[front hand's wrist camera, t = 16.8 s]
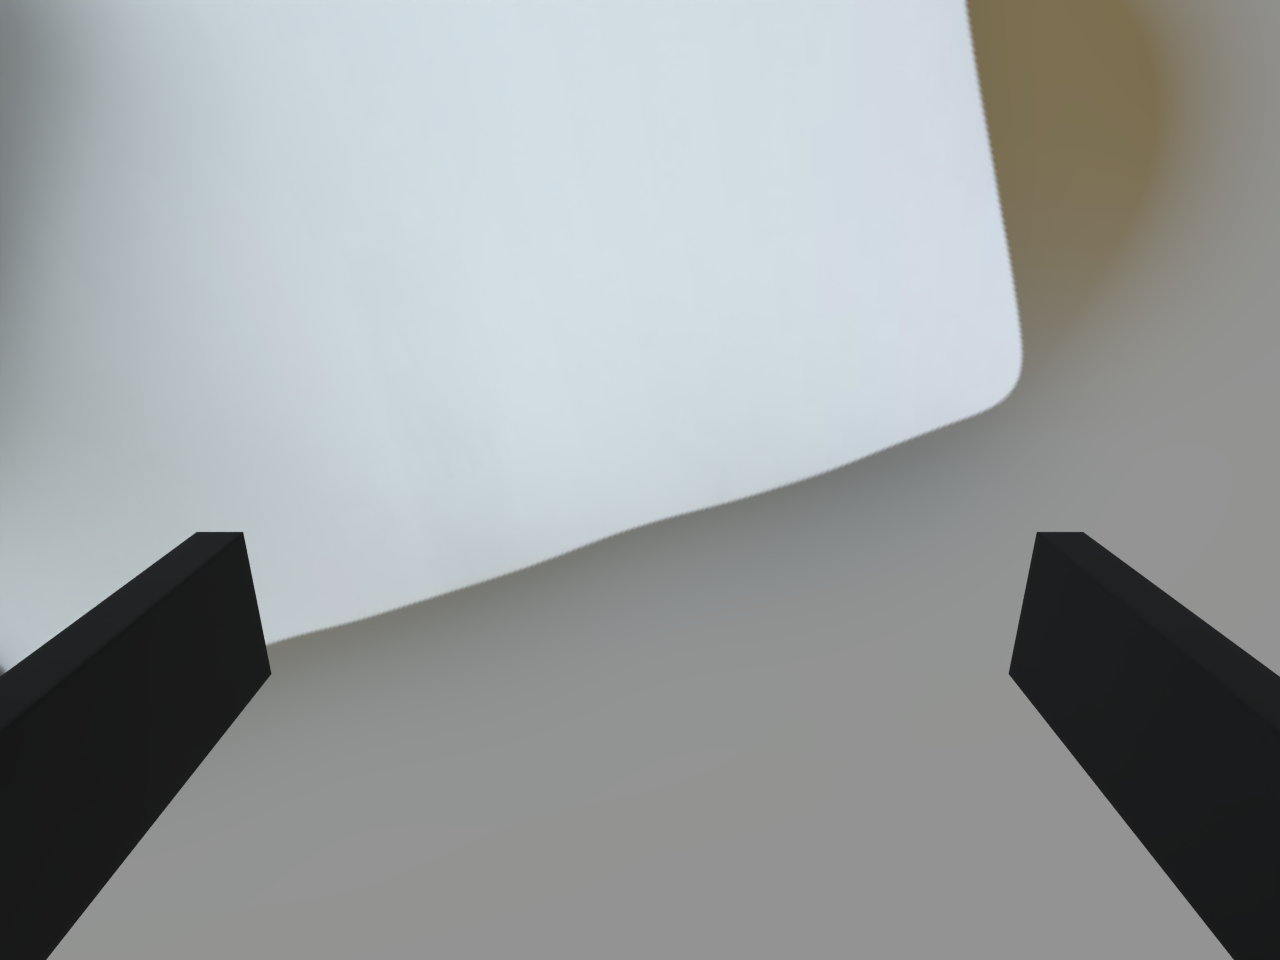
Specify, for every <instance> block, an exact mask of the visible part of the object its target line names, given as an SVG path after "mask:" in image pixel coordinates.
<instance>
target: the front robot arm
mask: <svg viewBox="0 0 1280 960" xmlns="http://www.w3.org/2000/svg"><path fill="white" fill-rule="evenodd" d="M270 675H271V670H270V665H269V660H268V655H267V650H266V645H265V640H264V635H263V630H262V625H261V620H260V614H259V609H258V604H257V599H256V594H255V589H254V584H253V579H252V574H251V569H250V564H249V559H248V554H247V549H246V544H245V539H244V534H243V532H196V533H195V534H194V535H192V536H191V537H189V538H188V539H187V540H185V541H184V542H183V543H181V544H180V545H179V546H177V547H176V548H175V549H173V550H172V551H170V552H169V553H168V554H166V555H165V556H164V557H162V558H161V559H160V560H158V561H157V562H155V563H154V564H153V565H151V566H150V567H149V568H147V569H146V570H145V571H143V572H142V573H141V574H139V575H138V576H136V577H135V578H134V579H132V580H131V581H130V582H128V583H127V584H126V585H124V586H123V587H122V588H120V589H119V590H117V591H116V592H115V593H113V594H112V595H111V596H109V597H108V598H107V599H105V600H104V601H103V602H101V603H100V604H98V605H97V606H96V607H94V608H93V609H92V610H90V611H89V612H88V613H86V614H85V615H83V616H82V617H81V618H79V619H78V620H77V621H75V622H74V623H73V624H71V625H70V626H69V627H67V628H66V629H64V630H63V631H62V632H60V633H59V634H58V635H56V636H55V637H54V638H52V639H51V640H50V641H48V642H47V643H45V644H44V645H43V646H41V647H40V648H39V649H37V650H36V651H35V652H33V653H32V654H30V655H29V656H28V657H26V658H25V659H24V660H22V661H21V662H20V663H18V664H17V665H16V666H14V667H13V668H11V669H10V670H9V671H7V672H6V673H5V674H3V675H2V676H1V677H0V960H46V959H47V958H48V957H49V955H50V954H51V953H52V952H53V950H54V949H55V948H56V947H57V945H58V944H59V943H60V941H61V940H62V939H63V938H64V936H65V935H66V934H67V933H68V931H69V930H70V929H71V927H72V926H73V925H74V924H75V922H76V921H77V920H78V919H79V917H80V916H81V915H82V913H83V912H84V911H85V910H86V908H87V907H88V906H89V905H90V903H91V902H92V901H93V899H94V898H95V897H96V896H97V894H98V893H99V892H100V891H101V889H102V888H103V887H104V885H105V884H106V883H107V882H108V881H109V879H110V878H111V877H112V875H113V874H114V873H115V872H116V870H117V869H118V868H119V867H120V865H121V864H122V863H123V861H124V860H125V859H126V858H127V856H128V855H129V854H130V853H131V851H132V850H133V849H134V848H135V846H136V845H137V844H138V842H139V841H140V840H141V839H142V837H143V836H144V835H145V834H146V832H147V831H148V830H149V828H150V827H151V826H152V825H153V823H154V822H155V821H156V820H157V818H158V817H159V816H160V815H161V813H162V812H163V811H164V809H165V808H166V807H167V806H168V804H169V803H170V802H171V801H172V799H173V798H174V797H175V795H176V794H177V793H178V792H179V790H180V789H181V788H182V787H183V785H184V784H185V783H186V782H187V780H188V779H189V778H190V776H191V775H192V774H193V773H194V771H195V770H196V769H197V768H198V766H199V765H200V764H201V762H202V761H203V760H204V759H205V757H206V756H207V755H208V753H209V752H210V751H211V750H212V749H213V747H214V746H215V745H216V743H217V742H218V741H219V740H220V738H221V737H222V736H223V735H224V733H225V732H226V731H227V729H228V728H229V727H230V726H231V724H232V723H233V722H234V721H235V719H236V718H237V717H238V715H239V714H240V713H241V712H242V710H243V709H244V708H245V707H246V705H247V704H248V703H249V702H250V700H251V699H252V698H253V696H254V695H255V694H256V693H257V691H258V690H259V689H260V688H261V686H262V685H263V684H264V682H265V681H266V680H267V679H268V677H269V676H270ZM1009 675H1010V676H1011V677H1012V679H1013V680H1014V681H1015V682H1016V684H1017V685H1018V686H1019V688H1020V689H1021V690H1022V691H1023V693H1024V694H1025V695H1026V696H1027V698H1028V699H1029V700H1030V702H1031V703H1032V704H1033V705H1034V707H1035V708H1036V709H1037V710H1038V712H1039V713H1040V714H1041V715H1042V717H1043V718H1044V719H1045V721H1046V722H1047V723H1048V724H1049V726H1050V727H1051V728H1052V729H1053V731H1054V732H1055V733H1056V735H1057V736H1058V737H1059V738H1060V740H1061V741H1062V742H1063V743H1064V745H1065V746H1066V747H1067V749H1068V750H1069V751H1070V752H1071V754H1072V755H1073V756H1074V757H1075V759H1076V760H1077V761H1078V762H1079V764H1080V765H1081V766H1082V768H1083V769H1084V770H1085V771H1086V773H1087V774H1088V775H1089V776H1090V778H1091V779H1092V780H1093V781H1094V783H1095V784H1096V785H1097V786H1098V788H1099V789H1100V790H1101V792H1102V793H1103V794H1104V795H1105V797H1106V798H1107V799H1108V800H1109V802H1110V803H1111V804H1112V806H1113V807H1114V808H1115V809H1116V811H1117V812H1118V813H1119V814H1120V816H1121V817H1122V818H1123V820H1124V821H1125V822H1126V823H1127V825H1128V826H1129V827H1130V828H1131V830H1132V831H1133V832H1134V834H1135V835H1136V836H1137V837H1138V839H1139V840H1140V841H1141V842H1142V844H1143V845H1144V846H1145V848H1146V849H1147V850H1148V851H1149V852H1150V854H1151V855H1152V856H1153V858H1154V859H1155V860H1156V861H1157V863H1158V864H1159V865H1160V867H1161V868H1162V869H1163V870H1164V872H1165V873H1166V874H1167V875H1168V877H1169V878H1170V879H1171V880H1172V882H1173V883H1174V884H1175V886H1176V887H1177V888H1178V889H1179V891H1180V892H1181V893H1182V894H1183V896H1184V897H1185V898H1186V899H1187V901H1188V902H1189V903H1190V905H1191V906H1192V907H1193V908H1194V910H1195V911H1196V912H1197V913H1198V915H1199V916H1200V917H1201V919H1202V920H1203V921H1204V922H1205V924H1206V925H1207V926H1208V927H1209V929H1210V930H1211V931H1212V933H1213V934H1214V935H1215V936H1216V938H1217V939H1218V940H1219V941H1220V943H1221V944H1222V945H1223V947H1224V948H1225V949H1226V950H1227V952H1228V953H1229V954H1230V955H1231V957H1232V958H1233V959H1234V960H1280V677H1279V676H1278V675H1277V674H1275V673H1274V672H1273V671H1271V670H1270V669H1269V668H1267V667H1266V666H1264V665H1263V664H1262V663H1260V662H1259V661H1258V660H1256V659H1255V658H1254V657H1252V656H1251V655H1250V654H1248V653H1247V652H1245V651H1244V650H1243V649H1241V648H1240V647H1239V646H1237V645H1236V644H1234V643H1233V642H1232V641H1230V640H1229V639H1228V638H1226V637H1225V636H1224V635H1222V634H1221V633H1220V632H1218V631H1217V630H1215V629H1214V628H1213V627H1211V626H1210V625H1209V624H1207V623H1206V622H1205V621H1203V620H1202V619H1201V618H1199V617H1198V616H1197V615H1195V614H1194V613H1192V612H1191V611H1190V610H1188V609H1187V608H1186V607H1184V606H1183V605H1182V604H1180V603H1179V602H1177V601H1176V600H1175V599H1173V598H1172V597H1171V596H1169V595H1168V594H1167V593H1165V592H1164V591H1163V590H1161V589H1160V588H1158V587H1157V586H1156V585H1154V584H1153V583H1152V582H1150V581H1149V580H1148V579H1146V578H1145V577H1144V576H1142V575H1141V574H1139V573H1138V572H1137V571H1135V570H1134V569H1133V568H1131V567H1130V566H1129V565H1127V564H1126V563H1124V562H1123V561H1122V560H1120V559H1119V558H1118V557H1116V556H1115V555H1114V554H1112V553H1111V552H1110V551H1108V550H1107V549H1105V548H1104V547H1103V546H1101V545H1100V544H1099V543H1097V542H1096V541H1095V540H1093V539H1092V538H1090V537H1089V536H1088V535H1086V534H1085V533H1084V532H1037V534H1036V539H1035V544H1034V549H1033V554H1032V559H1031V564H1030V569H1029V574H1028V579H1027V584H1026V589H1025V594H1024V599H1023V605H1022V610H1021V615H1020V620H1019V625H1018V630H1017V635H1016V640H1015V645H1014V650H1013V655H1012V660H1011V665H1010V670H1009Z"/></svg>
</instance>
